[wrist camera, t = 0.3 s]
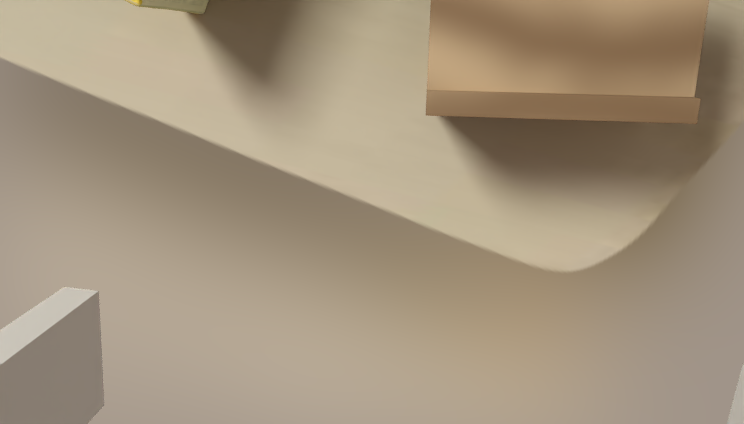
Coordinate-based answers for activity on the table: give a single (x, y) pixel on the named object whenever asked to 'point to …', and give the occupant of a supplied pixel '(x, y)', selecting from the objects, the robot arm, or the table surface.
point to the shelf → (566, 59)
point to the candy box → (174, 5)
